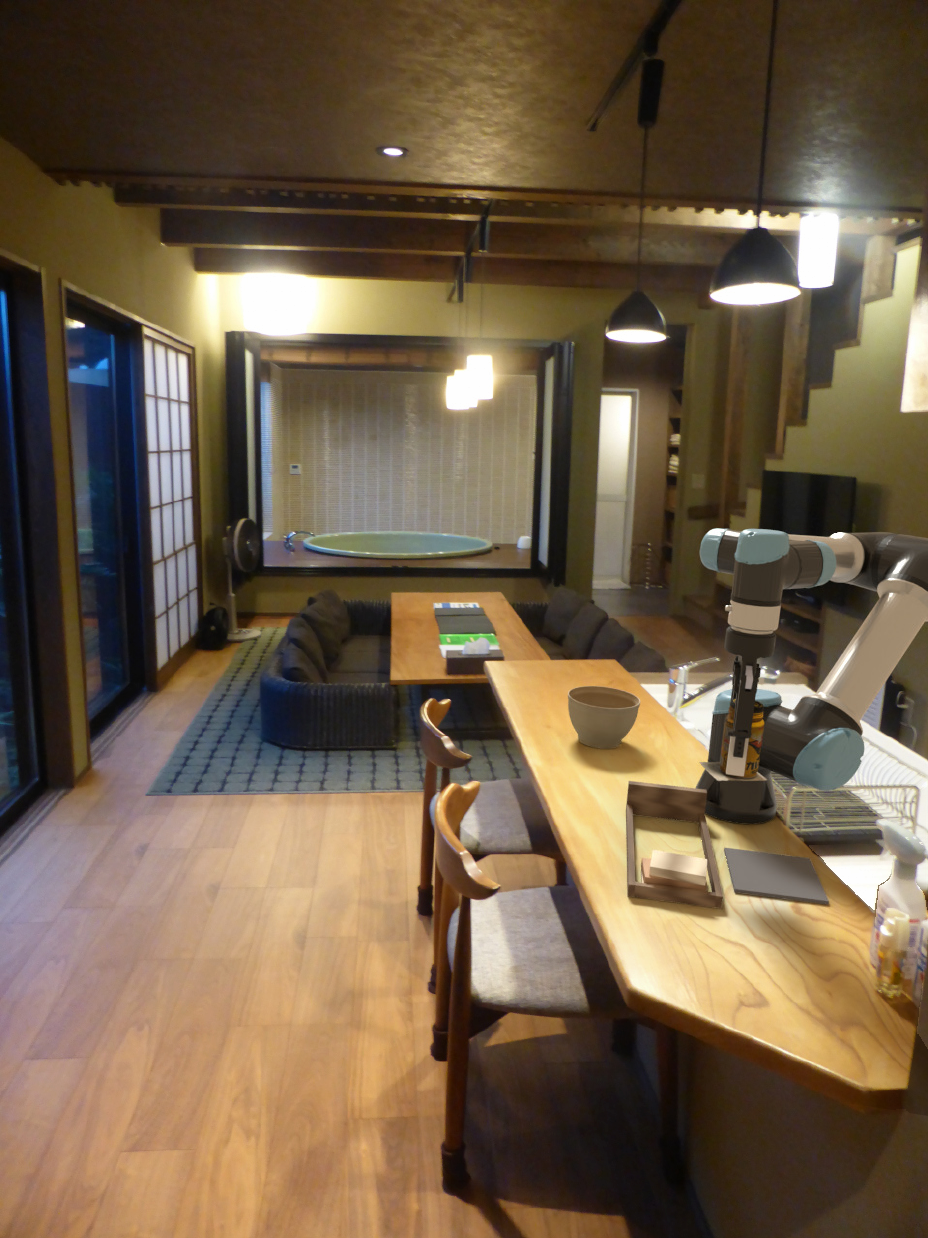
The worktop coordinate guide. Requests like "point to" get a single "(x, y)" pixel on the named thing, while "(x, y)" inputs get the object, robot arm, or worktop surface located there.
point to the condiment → (752, 752)
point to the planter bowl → (602, 714)
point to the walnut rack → (674, 807)
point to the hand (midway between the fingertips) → (733, 766)
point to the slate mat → (774, 876)
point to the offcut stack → (674, 870)
